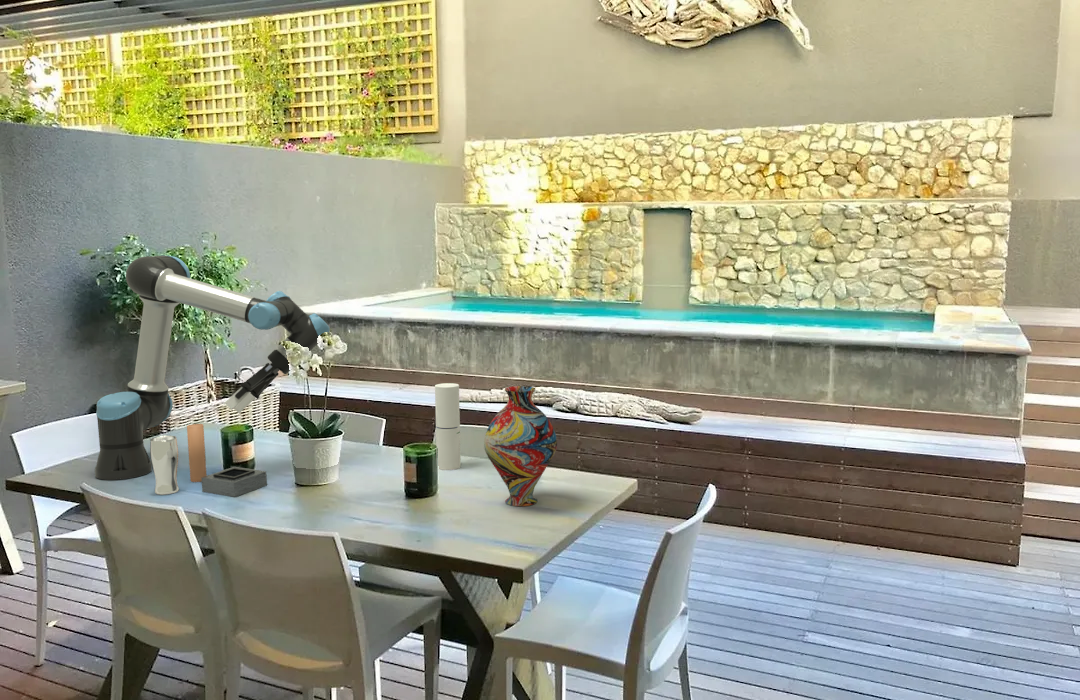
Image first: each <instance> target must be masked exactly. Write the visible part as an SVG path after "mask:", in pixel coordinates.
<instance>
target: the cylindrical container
mask: <svg viewBox="0 0 1080 700" xmlns="http://www.w3.org/2000/svg"><path fill="white" fill-rule="evenodd" d="M434 394H435V395H434V397H435V398H434V399H435V401H434V403H435V404H434V405H435V435H436V437H435V440H436V441H435V443H436V445H435V446H437V447H438V466H439V469H438V470H441V471H453V470H458V469H460V468H461V465H462V464H461V463H462V462H461V459H462V458H461V421H460V420H461V419H460V417H461V415H460V413H461V412H460V384H458V383H452V382H451V383H450V382H448V383H447V382H446V383H443V382H442V383H438V384H435V385H434Z"/></svg>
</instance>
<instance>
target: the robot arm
mask: <svg viewBox="0 0 1080 700" xmlns="http://www.w3.org/2000/svg"><path fill="white" fill-rule="evenodd" d="M125 271H126V272H125V281H126V283H127V285H128V287H129V289H130V290H132V291H133V293H135V294H137V295H139V299H140V300H141V301H142V303H143V306H142V315H141V322H140V330H139V337H138V346H137V354H136V361H135V369H134V377H133V379H132V380H130V381H129V382H128V383H127V386H126V387H127V389H126V391H121V392H119V391H118V392H115V393H110V394H107V395H104V396H102V397H101V398H100V399H98V400H97V402H96V411H95V412H96V413H95V414H96V417H97V431H98V432H97V433H98V441H99V442H98V444H99V453H98V457H97V460H96V465H95V467H94V475H95V476H94V477H95V478H96V479H99V480H104V481H105V480H108V481H112V480H113V481H117V480H126V479H127V480H128V479H132V478H133V479H134V478H137V477H141V476H144V475H147V474H149V473H151V472H152V470H153V466H152V462H151V458H150V455H149V454H148V452H147V450H146V447H145V444H144V436H143V435H144V433H143V432H144V431H145V430H148V429H150V428H154V427H157V426H159V425H161V424H162V423H164V422H165V421H167V420H168V418H169V417H170V415H171V413H172V411H173V399H172V397H171V396H170V393H169V390H170V389H169V385H167V383H166V382H165V379H166V371H167V363H168V357H169V349H170V342H171V335H172V328H173V327H172V326H173V320H174V313H175V307H177V306H178V305H180V304H183V305H187V306H190V307H193V308H197V309H200V310H204V311H207V312H211V313H214V314H217V315H220V316H224V317H228V318H230V319H234V320H237V321H240V322H244V323H248V324H250V325H251V326H253V327H254V328H255V329H257V330H260V331H261V330H264V331H265V330H272V329H273V328H277V327H280V326H282V327H283V328H284V329H285V330H286V331H287V332H288V333H290V335H289V336H288V337H286V338H285V339H284V340H283V341H291V342H295V343H298V344H300V345H301V346H303V347H308V348H309V351H310V352H311V351H312V350H313V349H314V348H315V347H317V345H318V344H319V343H317V338H318V336H319V335H321V334H322V333H324V332H328V334H329V333H330V330H331V328H330V326H329V324H328V323H326V321H325V320H324V319H323V318H322V317H320V316H319V315H318V314H317V313H312V314H310V315H308V314H307V313H306V312H305V311H304V310H303V309H302V308H301V307H300V306H299V305H297V303H295V301H293V300H292V298H291V297H290V296H288V295H287V294H286V293H284V292H283V290H278V291H275V292H273V293H272V294H271V295H270V296H268V297H267V298H266V300H265V299H261V298H257V297H254V296H251V295H248V294H244V293H241V292H237V291H234V290H232V289H227V288H224V287H221V286H217V285H213V284H210V283H207V282H203V281H200V280H198V279H193V278H191V272H190V269H189V267H188V266H187V264H186V263H185V262H184V261H183V260H182V259H180V258H178V257H176V256H173V255H165V254H161V255H153V256H151V255H149V256H142V257H141V256H140V257H137V258H136V259H133V261H131V262H130V263H129V265H128V267H127V268H126V270H125ZM267 360H269V361H270V362H271V363H269V362H267V363H265V365H263V367H262V368H261V369H258V370H257V372H255V373H254V374H252V375H251V376H250V377H249V378H248V379H246V381H243V382H240V384H239V386H240V388H238V389H237V391H235V392H234V393H233V394H232V395H231V396H230V397H229V398H228V399H227V400H226V401H225V402H224V404H225V406H227V407H228V408H229V409H230V410H231V411H232V410H233V409H234V410H235V411H236V412H237V414H241V412H243V410H244V409H246V408H247V407H248V406H249V405H250V404H251V403H252V402H253V401H254V400H255V399H257V400H258V399H260V398H261V397H260V396H261V394H262V393H263V392H264V391H265V390H266V389H267V387H269V385H270V384H272V382H273V381H274V380H275V379H276V378H277V377H279V375H280V373H279V372H281V373H282V374H283V375H287V374H288V373H289V372H290V371H291V370H289V365H288V360H287V355H286V350H285V348H284V347H283V346H282V345H281V343H280V344H279V345H278V346H277V349H274V350H273V351H272V352H270V354H268V356H267Z"/></svg>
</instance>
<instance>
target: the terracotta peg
mask: <svg viewBox="0 0 1080 700" xmlns="http://www.w3.org/2000/svg"><path fill="white" fill-rule="evenodd" d="M204 429H205V428H204V424H203V423H192V424H188V425H186V433H187V436H186V437H187V449H188V462H189V463H188V464H189V466H188V467H189V476H190V477H189V478H190V482H192V483H200V482H201V483H202V479H201V478H202V477H205V476H208V475H207V463H206V462H207V460H206V444H205V430H204Z"/></svg>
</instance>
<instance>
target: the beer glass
mask: <svg viewBox="0 0 1080 700" xmlns="http://www.w3.org/2000/svg"><path fill="white" fill-rule="evenodd" d="M149 441H150V445H149V446H150V447H149V449H150V450H149V451H150V452H149V454H150V455H149V456H150V461H151V465H152V470H153V474H154V477H155V478H154V479H155V486H154V487H155V488H154V493H155V494H156V495H159V496H164V495H165V496H166V495H173V494H175V493H177V492H179V490H180V488H179V485H178V479H177V477H178V476H177V474H178V464H179V447H178V446H179V445H178V439H177V436H175V435H158V436H154V437H152V438H150V439H149Z"/></svg>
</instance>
